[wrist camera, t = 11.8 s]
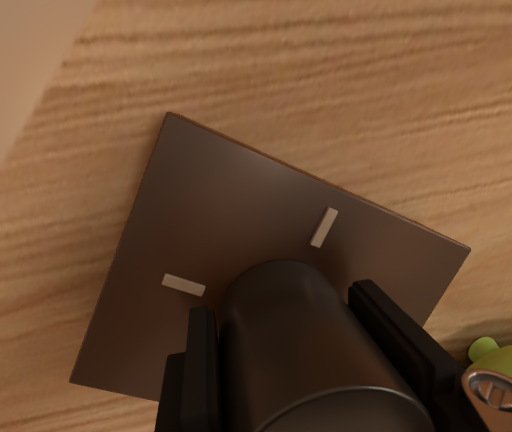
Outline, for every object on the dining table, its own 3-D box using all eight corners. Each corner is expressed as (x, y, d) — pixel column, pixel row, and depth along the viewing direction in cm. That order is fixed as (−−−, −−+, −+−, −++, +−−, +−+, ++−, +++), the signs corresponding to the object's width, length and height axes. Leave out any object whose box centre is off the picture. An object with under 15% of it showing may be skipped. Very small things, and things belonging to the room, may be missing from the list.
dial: (225, 373, 12) (241, 593, 6) (210, 269, 10) (213, 431, 5) (337, 352, 12) (440, 539, 7) (335, 250, 11) (463, 379, 6)
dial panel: (95, 329, 14) (65, 387, 11) (176, 112, 12) (166, 109, 9) (325, 389, 17) (351, 447, 14) (422, 224, 15) (476, 250, 12)
